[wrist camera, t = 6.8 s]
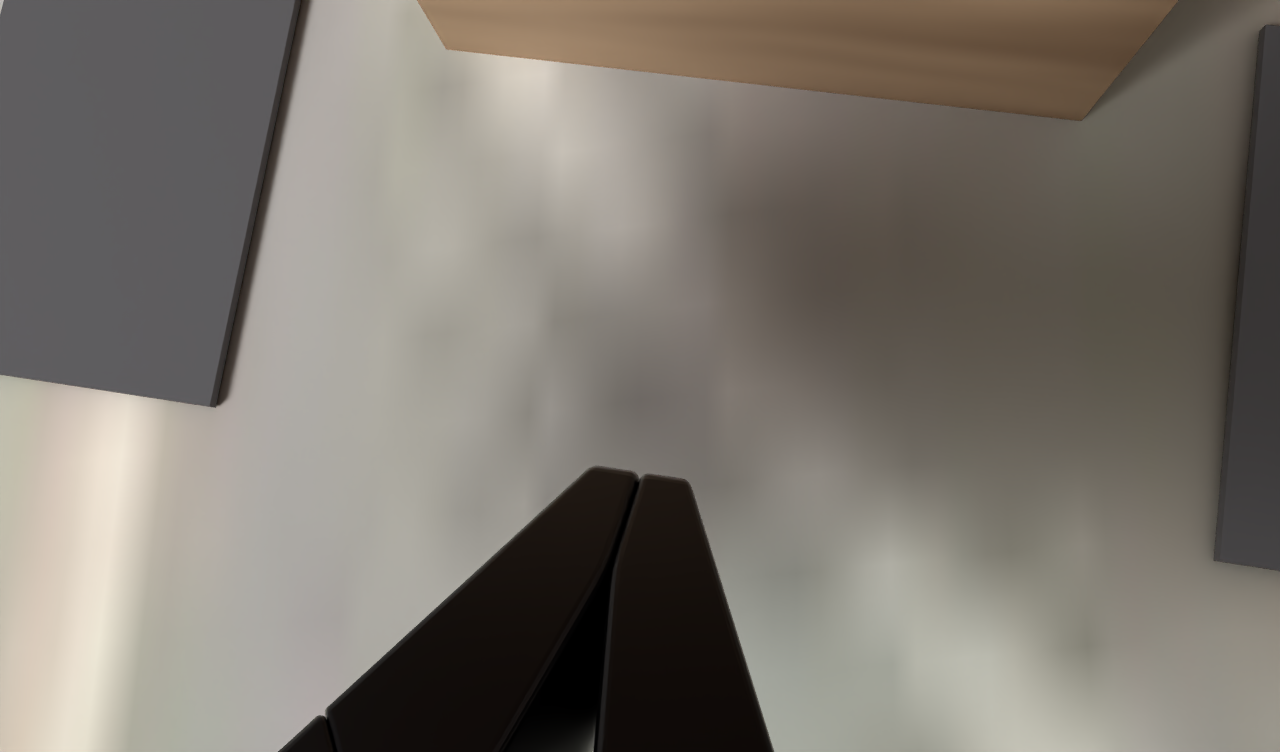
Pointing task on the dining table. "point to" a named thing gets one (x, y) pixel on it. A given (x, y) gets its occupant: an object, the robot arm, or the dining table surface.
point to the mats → (231, 186)
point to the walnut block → (833, 44)
